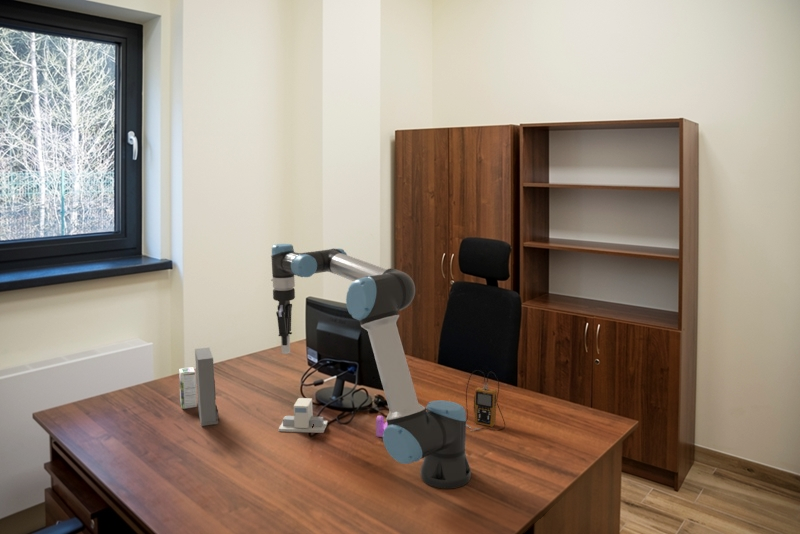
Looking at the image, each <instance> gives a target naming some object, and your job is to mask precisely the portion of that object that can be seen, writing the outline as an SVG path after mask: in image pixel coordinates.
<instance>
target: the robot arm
mask: <svg viewBox="0 0 800 534" xmlns="http://www.w3.org/2000/svg"><path fill="white" fill-rule="evenodd" d="M270 257H271V271H272V272H271V273H272V278H271V279H270V280H271V282H272V288H273V290H272V298H273V300H274V301H277V302H278V305H277V311H276V319H277V327H278V337H280V340H281V341H280V345H281V354H282V355H283V354H284V355H288V354H291V340H290V339H291V338H290V337H291V335H292V334H293V332H291V331H292V309H293V303H291V301H293V300H295V298H296V292H295V291H296V290H295V286H296V284H295V281H296V280H295V276H297V277H299V278H310V277H312V276H313V275H315V274H319V273H326V272H328V273H331V274H334V275H337V276H340V277H342V278H344V279H346V280H350V281H352V282H351V284H350V285H349V287H348V290H347V292H346V297H345V298H346V299H345V300H346V301H345V303H346V309H347V311H348V314H349V315H350V316H351V317H352V318H353V319H355V320H357V321H359V325H360V327H361V328H363V329H364V330H366V331H367V332H368V333H367V334H368V337H369V341H370V344H371V349H372V352H373V355H374V359H375V363H376V367H377V370H378V375H379V378H380V381H381V385H382V388H383V392H384V396H385V399H386V402H387V406H388V410H389V412H388V414H387V416H386V421H387V424H388V426H387V427H386V428H385V430H384V432H383V433H384V434H383V437H382V441H383V446H384V447H385V450H386V451H387V453H388V454H389V456H390V457H391V458H392V459H394V460H395V461H396V462H397V463H399V464H402V465H409V464H411V463H414V462H419V461H420V460H421V459H423V461H422V463H421V467H420V479H421V480H422V481H423V482H424V483H425V484H426V485H429V486H431V487H433V488H436V489H437V488H438V489H444V490H445V489H446V490H447V489H456V488H460V487H463V486H465V485H467V484H468V483H469V482H470V480H471V467H470V464H469V461H468V460H469V459H468V457H467V454H466V439H467V438H466V435H467V434H466V433H467V426H466V424H467V421H466V420H467V410H466V409H465V407H464V406H463V405H461V404H459V403H457V402H453V401H450V400H441V399H439V400H438V399H437V400H432V401H429V402H428V403H427V404H426V407H425V406H423V405H422V404H420V403H419V402H418V398H417V394H416V390H415V386H414V383H413V379H412V375H411V372H410V369H409V365H408V362H407V358H406V354H405V350H404V347H403V343H402V339H401V337H400V333H399V328H398V326H397V321H398V320H399V317H400V314H399V311H402V310H405V309H406V308H407V307H408V306H410V305H411V303H412V301H413V300H414V299H415V295H416V286H415V282H414V280H413V279H412V277H411V276H410V275H409V274H408V273H406V272H404V271H402V270H398V269H396V268H393V267H390V268H383V267H381V266H379V265H375V264H372V263H369V262H367V261H363V260H361V259H359V258H356V257H353V256H350V255H348V254H347V252H346V251H345V250H344V249H343V248H330V249H322V250H315V251H308V252H306V251H305V252H296V251H295V250H294V246H293V245H292V244H290V243H277V244H276V243H275V244H274V245H272V247H271V256H270Z"/></svg>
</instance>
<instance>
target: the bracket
mask: <svg viewBox="0 0 800 534" xmlns="http://www.w3.org/2000/svg"><path fill="white" fill-rule="evenodd" d="M384 419H385V418H384V416H383V415H377V417H376V419H375V437H379V438H383V434H384V433H383V432H384V430H385V428H386V427H387V426H388V424H387V420H386V421H384ZM384 422H385V423H384Z"/></svg>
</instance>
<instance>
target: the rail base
mask: <svg viewBox="0 0 800 534" xmlns="http://www.w3.org/2000/svg"><path fill="white" fill-rule="evenodd" d="M313 424H314V427H313V428H312V426H313ZM327 426H328V420H324V416H313V417H311V418H310V420H309V428H295V427H294V415H285V416H284V417H283V418H282V422H281V424H280V425H279V427H278V430H277V431H278V432H283V433H284V432H286V433H289V432H290V433H292V432H293V433H315V434H316V433H318V434H319V433H320V434H324V432H325V431H326V428H327Z"/></svg>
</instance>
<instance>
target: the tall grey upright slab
mask: <svg viewBox="0 0 800 534" xmlns="http://www.w3.org/2000/svg"><path fill="white" fill-rule="evenodd" d="M194 357H195V358H194V359H195V373H196V394H197V407H198V408H197V412H198V416H199V417H198V418H199V423H200V426H201V427H205V426H213V425H218V424H219V409H218V407H217V404H216V403H217V402H216V400H217V398H216V380H215V368H214V365H215V363H214V357H213V354H212V351H211V349H210V347H203V348H201V347H200V348H195V349H194Z"/></svg>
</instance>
